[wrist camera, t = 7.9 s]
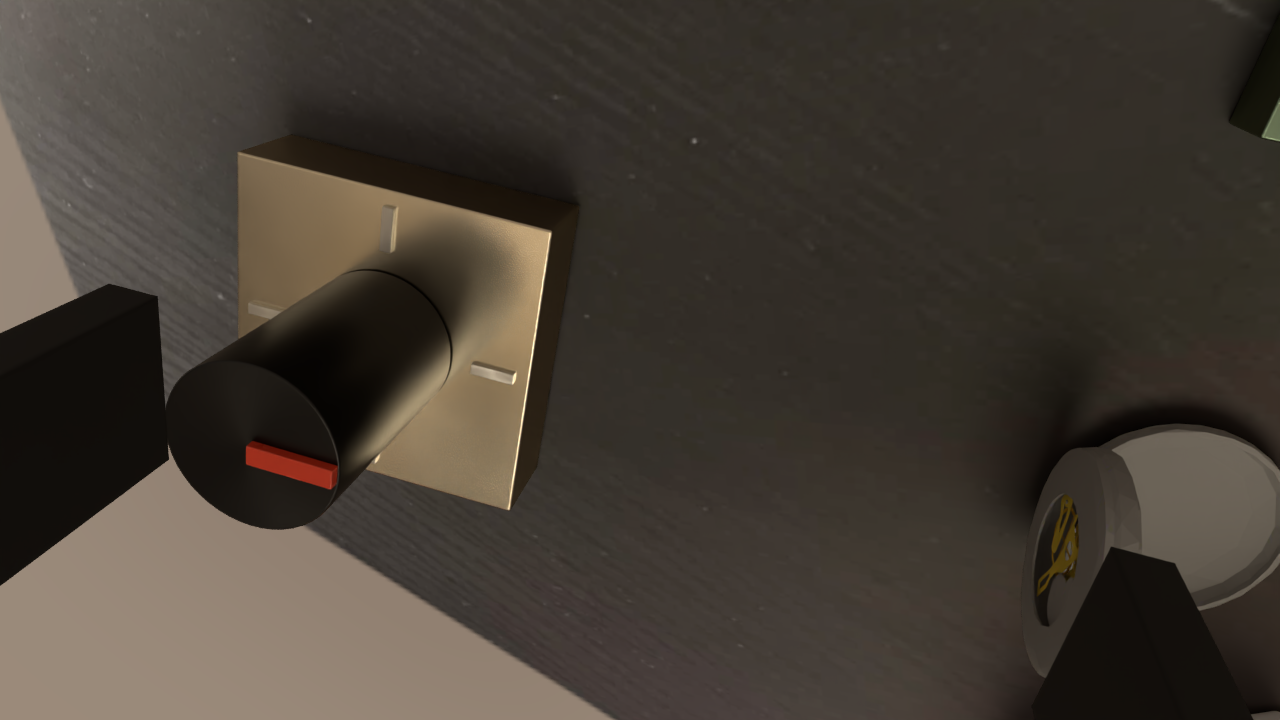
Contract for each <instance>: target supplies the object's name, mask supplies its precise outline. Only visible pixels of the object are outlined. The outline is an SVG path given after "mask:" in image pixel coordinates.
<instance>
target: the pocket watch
mask: <svg viewBox="0 0 1280 720" xmlns="http://www.w3.org/2000/svg"><path fill="white" fill-rule="evenodd" d="M1111 547H1115V548H1119V549H1123V550H1127V551H1130V552H1134V553H1138V554H1142V555H1146V556H1150V557H1153V558H1157V559H1161V560H1165V561H1169V562H1172V563H1175V564H1176V566H1177V568H1178V570H1179V572H1180V574H1181V576H1182V578H1183V580H1184V582H1185V584H1186V586H1187V588H1188V590H1189V592H1190V594H1191V596H1192V598H1193V600H1194V602H1195V604H1196V606H1197V608H1198V610H1199V611H1200V610H1204V609H1208V608H1212V607H1216V606H1218V605H1221V604H1223V603H1226V602H1228V601H1230V600H1233V599H1235V598H1237V597H1240V596H1242V595H1243V594H1244V593H1246V592H1247V591H1248V590H1250V589H1251V588H1253V587H1254V586H1255V585H1257V584H1258V583H1259V582H1261V581H1262V580H1263V579H1265V578H1266V577H1267V576H1268V575H1270V574H1271V573H1272V572H1273V571H1274V569H1275V568H1276V567H1277V566H1278V564H1279V563H1280V470H1279V468H1278V467H1277V466H1276V464H1275V463H1274V462H1273V461H1272V460H1271V459H1270V458H1269V457H1268V456H1266V455H1265V454H1264V453H1263V452H1262V451H1260V450H1259V449H1258V448H1257V447H1255V446H1254V445H1253V444H1252V443H1249V442H1247V441H1246V440H1245V439H1242V438H1240V437H1238V436H1236V435H1233V434H1231V433H1229V432H1226V431H1224V430H1220V429H1215V428H1211V427H1207V426H1203V425H1191V424H1166V425H1156V426H1151V427H1147V428H1144V429H1140V430H1136V431H1132V432H1129V433H1125V434H1123V435H1120V436H1118V437H1116V438H1114V439H1112V440H1111V441H1109V442H1107V443H1105V444H1103V445H1101V446H1100V447H1089V448H1076V449H1072V450H1070V451H1068V452H1067V453H1066V454H1064V455H1063V457H1062V458H1061V459H1060V461H1059V462H1058V463H1057V465H1056V466H1055V467H1054V468H1053V470H1052V471H1051V473H1050V475H1049V477H1048V479H1047V481H1046V483H1045V485H1044V488H1043V490H1042V493H1041V496H1040V498H1039V501H1038V503H1037V507H1036V510H1035V513H1034V517H1033V520H1032V524H1031V527H1030V530H1029V534H1028V538H1027V546H1026V553H1025V561H1024V568H1023V577H1022V588H1021V613H1022V628H1023V637H1024V642H1025V646H1026V651H1027V654H1028V657H1029V659H1030V662H1031V664H1032V666H1033V667H1034V669H1035V670H1036V672H1037V673H1038V675H1041V676H1043V677H1045V678H1046V676H1047V674H1048V672H1049V670H1050V668H1051V666H1052V664H1053V662H1054V660H1055V658H1056V656H1057V654H1058V652H1059V650H1060V648H1061V646H1062V644H1063V642H1064V640H1065V638H1066V636H1067V634H1068V632H1069V630H1070V628H1071V626H1072V624H1073V622H1074V620H1075V618H1076V616H1077V614H1078V612H1079V610H1080V608H1081V606H1082V604H1083V602H1084V600H1085V598H1086V596H1087V594H1088V592H1089V590H1090V588H1091V586H1092V584H1093V582H1094V580H1095V578H1096V576H1097V574H1098V572H1099V570H1100V568H1101V566H1102V564H1103V562H1104V560H1105V558H1106V556H1107V554H1108V552H1109V550H1110V548H1111ZM1067 567H1068V569H1067ZM1069 569H1070V572H1068V571H1069ZM1067 573H1068V574H1067Z"/></svg>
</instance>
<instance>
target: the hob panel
mask: <svg viewBox="0 0 1280 720" xmlns="http://www.w3.org/2000/svg"><path fill="white" fill-rule="evenodd" d="M237 213H238V339H240V338H241V337H243V336H244V335H246V334H248V333H249V332H251V331H252V330H254V329H256V328H257V327H259V326H260V325H262V324H263V323H265V322H267V321H268V320H270V319H271V318H273V317H275V316H276V315H278V314H279V313H281V312H283V311H284V310H286V309H287V308H289V307H290V306H292V305H294V304H295V303H297V302H298V301H300V300H302V299H303V298H305V297H306V296H308V295H309V294H311V293H313V292H314V291H316V290H317V289H319V288H321V287H322V286H324V285H325V284H327V283H328V282H330V281H332V280H333V279H335V278H337V277H339V276H341V275H344V274H346V273H350V272H355V271H376V272H381V273H385V274H388V275H391V276H394V277H396V278H399V279H401V280H403V281H405V282H406V283H408V284H409V285H411V286H413V287H414V288H415V289H416V290H418V291H419V292H420V293H421V294H422V295H423V296H424V297H425V298H426V299H427V300H428V301H429V302H430V303H431V305H432V306H433V307H434V308H435V310H436V311H437V313H438V314H439V316H440V318H441V320H442V322H443V324H444V326H445V329H446V332H447V335H448V339H449V343H450V366H449V371H448V374H447V377H446V380H445V382H444V384H443V385H442V387H441V388H440V390H439V391H438V392H437V394H436V395H435V396H434V397H433V398H432V399H431V400H430V401H429V402H428V403H427V404H426V405H425V406H424V407H423V408H422V409H421V411H420V412H419V413H418V414H417V415H416V416H415V417H414V418H413V419H412V420H411V421H410V422H409V423H408V424H407V425H406V426H405V428H404V429H403V430H402V431H401V432H400V433H399V434H398V435H397V436H396V437H395V438H394V439H393V440H392V441H391V442H390V443H389V444H388V446H387V447H386V448H385V449H384V450H383V451H382V452H381V453H380V454H379V455H378V456H377V457H376V458H375V459H374V460H373V461H372V462H371V464H370V465H369V466H368V467H367V468H366V469H365V470H369V471H372V472H376V473H379V474H383V475H386V476H390V477H393V478H396V479H400V480H403V481H407V482H410V483H414V484H417V485H421V486H424V487H428V488H431V489H434V490H438V491H441V492H445V493H448V494H452V495H455V496H459V497H462V498H466V499H469V500H473V501H476V502H479V503H483V504H486V505H490V506H493V507H497V508H500V509H504V510H507V511H510V510H511V508H512V507H513V505H514V504H515V502H516V500H517V499H518V497H519V495H520V494H521V492H522V491H523V489H524V487H525V486H526V484H527V482H528V481H529V479H530V478H531V476H532V474H533V473H534V471H535V469H536V468H537V465H538V458H539V452H540V446H541V440H542V434H543V428H544V422H545V416H546V410H547V403H548V397H549V391H550V385H551V379H552V373H553V367H554V361H555V354H556V348H557V342H558V336H559V330H560V324H561V318H562V312H563V306H564V299H565V293H566V287H567V281H568V275H569V269H570V263H571V257H572V250H573V244H574V238H575V232H576V226H577V220H578V214H579V206H578V205H574V204H570V203H566V202H562V201H558V200H554V199H550V198H546V197H542V196H537V195H533V194H529V193H525V192H521V191H517V190H513V189H509V188H505V187H501V186H497V185H493V184H489V183H485V182H481V181H477V180H473V179H469V178H465V177H461V176H457V175H453V174H449V173H445V172H441V171H437V170H433V169H429V168H425V167H421V166H417V165H413V164H409V163H405V162H401V161H396V160H392V159H388V158H384V157H380V156H376V155H372V154H368V153H364V152H360V151H356V150H352V149H348V148H344V147H340V146H336V145H332V144H328V143H324V142H320V141H316V140H312V139H308V138H304V137H300V136H296V135H292V134H291V135H288V136H285V137H282V138H279V139H275V140H272V141H269V142H266V143H263V144H260V145H257V146H254V147H251V148H248V149H245V150H242V151H239V152H238V153H237Z"/></svg>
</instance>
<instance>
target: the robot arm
mask: <svg viewBox="0 0 1280 720" xmlns="http://www.w3.org/2000/svg"><path fill="white" fill-rule="evenodd" d="M168 460H169V455H168V440H167V425H166V411H165V396H164V382H163V367H162V353H161V339H160V324H159V310H158V296H154V295H150V294H146V293H143V292H139V291H135V290H131V289H127V288H124V287H120V286H116V285H112V284H107V285H105V286H103V287H101V288H99V289H96V290H94V291H92V292H90V293H88V294H85V295H83V296H81V297H79V298H77V299H74V300H73V301H70V302H68V303H66V304H64V305H61V306H59V307H57V308H55V309H53V310H50V311H48V312H46V313H44V314H42V315H40V316H37V317H35V318H33V319H31V320H28V321H26V322H24V323H22V324H20V325H18V326H15V327H13V328H11V329H9V330H7V331H4V332H2V333H0V585H2V584H3V583H5V582H6V581H7V580H9V579H10V578H11V577H13V576H14V575H15V574H17V573H18V572H19V571H21V570H22V569H23V568H24V567H26V566H27V565H28V564H30V563H31V562H33V561H34V560H35V559H37V558H38V557H39V556H41V555H42V554H43V553H45V552H46V551H47V550H48V549H50V548H51V547H52V546H54V545H55V544H57V543H58V542H59V541H61V540H62V539H63V538H64V537H66V536H67V535H69V534H70V533H71V532H73V531H74V530H75V529H77V528H78V527H79V526H81V525H82V524H83V523H85V522H86V521H87V520H89V519H90V518H91V517H93V516H94V515H95V514H96V513H98V512H99V511H100V510H102V509H103V508H105V507H106V506H107V505H109V504H110V503H111V502H113V501H114V500H115V499H117V498H118V497H119V496H121V495H122V494H123V493H125V492H126V491H127V490H129V489H130V488H131V487H133V486H134V485H135V484H137V483H138V482H139V481H141V480H142V479H143V478H145V477H146V476H147V475H149V474H150V473H151V472H153V471H154V470H155V469H157V468H158V467H159V466H161V465H162V464H163V463H165V462H166V461H168ZM1032 709H1033V713H1034V718H1035V720H1253V718H1252V716H1251V714H1250V712H1249V710H1248V708H1247V706H1246V704H1245V702H1244V700H1243V698H1242V696H1241V694H1240V692H1239V690H1238V688H1237V686H1236V684H1235V682H1234V680H1233V678H1232V676H1231V674H1230V672H1229V670H1228V668H1227V666H1226V664H1225V662H1224V660H1223V658H1222V656H1221V654H1220V652H1219V650H1218V648H1217V646H1216V644H1215V642H1214V640H1213V638H1212V636H1211V634H1210V632H1209V630H1208V628H1207V626H1206V624H1205V622H1204V620H1203V618H1202V616H1201V614H1200V612H1199V610H1198V608H1197V606H1196V604H1195V602H1194V600H1193V598H1192V596H1191V594H1190V592H1189V590H1188V588H1187V586H1186V584H1185V582H1184V580H1183V578H1182V576H1181V574H1180V572H1179V570H1178V568H1177V566H1176V564H1175V563H1172V562H1169V561H1165V560H1161V559H1157V558H1153V557H1150V556H1146V555H1142V554H1138V553H1134V552H1130V551H1127V550H1123V549H1119V548H1115V547H1111V548H1110V550H1109V552H1108V554H1107V556H1106V558H1105V560H1104V562H1103V564H1102V566H1101V568H1100V570H1099V572H1098V574H1097V576H1096V578H1095V580H1094V582H1093V584H1092V586H1091V588H1090V590H1089V592H1088V594H1087V596H1086V598H1085V600H1084V602H1083V604H1082V606H1081V608H1080V610H1079V612H1078V614H1077V616H1076V618H1075V620H1074V622H1073V624H1072V626H1071V628H1070V630H1069V632H1068V634H1067V636H1066V638H1065V640H1064V642H1063V644H1062V646H1061V648H1060V650H1059V652H1058V654H1057V656H1056V658H1055V660H1054V662H1053V664H1052V666H1051V668H1050V670H1049V672H1048V674H1047V676H1046V679H1045V681H1044V683H1043V685H1042V687H1041V689H1040V691H1039V693H1038V695H1037V697H1036V699H1035V701H1034V703H1033V705H1032Z"/></svg>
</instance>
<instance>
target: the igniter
mask: <svg viewBox="0 0 1280 720" xmlns="http://www.w3.org/2000/svg"><path fill="white" fill-rule="evenodd" d="M1229 123H1230V124H1231V125H1234V126H1236V127H1238V128H1240V129H1242V130H1244V131H1247V132H1249V133H1251V134H1253V135H1255V136H1257V137H1260V138H1262V139H1266V140H1271V141H1275V142H1280V14H1279V16H1278V18H1277V20H1276V22H1275V25H1274V27H1273V29H1272V31H1271V33H1270V35H1269V38H1268V40H1267V42H1266V44H1265V46H1264V48H1263V50H1262V53H1261V55H1260V57H1259V59H1258V61H1257V63H1256V65H1255V68H1254V70H1253V72H1252V74H1251V76H1250V78H1249V81H1248V83H1247V85H1246V87H1245V89H1244V91H1243V93H1242V96H1241V98H1240V100H1239V102H1238V104H1237V106H1236V109H1235V111H1234V113H1233V115H1232V117H1231V119H1230V122H1229Z"/></svg>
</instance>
